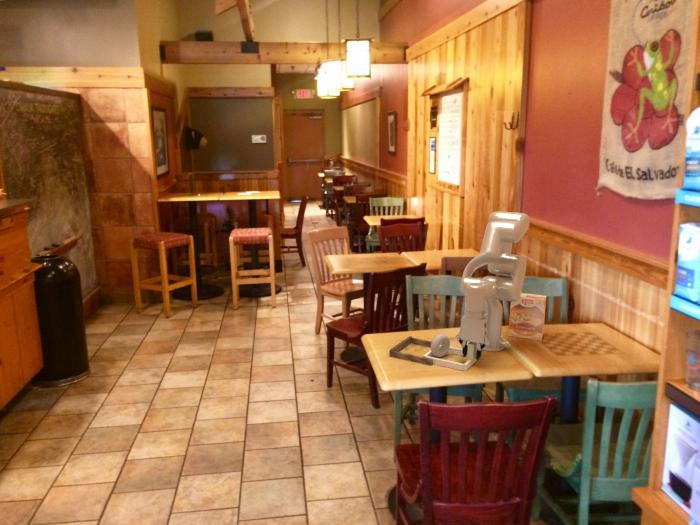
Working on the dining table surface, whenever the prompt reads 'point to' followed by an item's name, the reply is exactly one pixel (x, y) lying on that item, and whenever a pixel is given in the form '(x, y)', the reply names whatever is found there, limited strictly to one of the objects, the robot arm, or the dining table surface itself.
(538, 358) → the dining table surface
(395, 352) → the brown piece
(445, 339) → the grey wheel
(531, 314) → the coffeecake box
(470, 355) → the white open rectangular frame
